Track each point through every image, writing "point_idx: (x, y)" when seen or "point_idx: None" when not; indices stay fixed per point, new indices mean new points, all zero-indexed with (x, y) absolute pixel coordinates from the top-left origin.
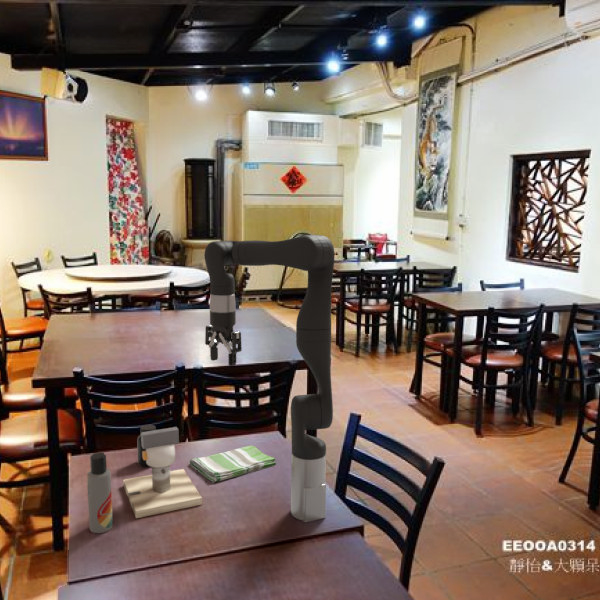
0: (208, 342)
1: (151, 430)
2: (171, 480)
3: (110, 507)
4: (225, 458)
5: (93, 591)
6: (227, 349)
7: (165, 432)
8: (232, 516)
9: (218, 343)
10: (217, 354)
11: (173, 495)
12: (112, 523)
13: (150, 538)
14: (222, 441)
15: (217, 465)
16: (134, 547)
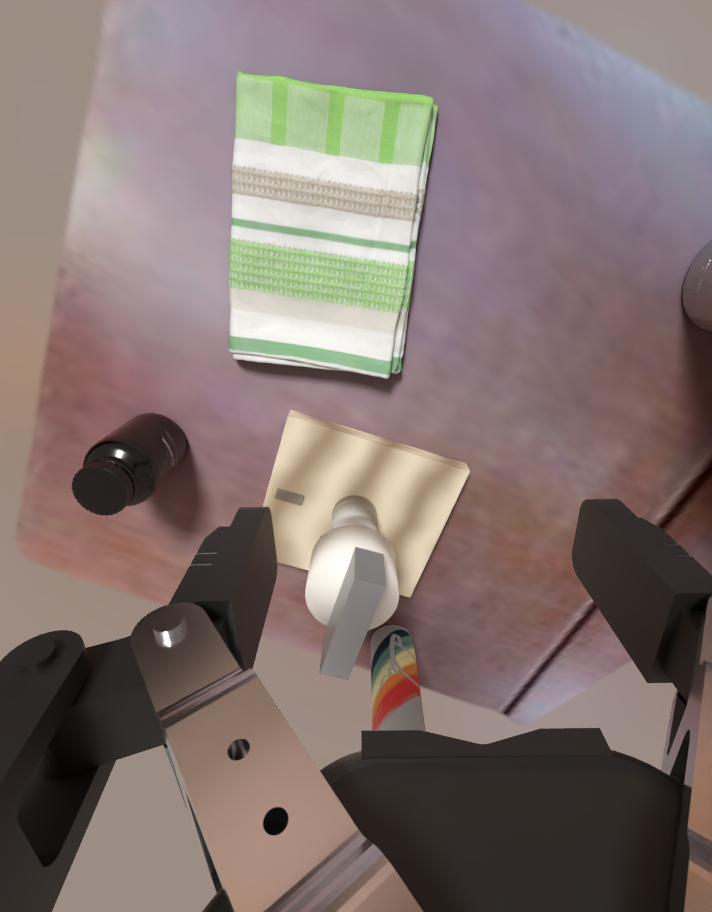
0: (106, 761)
1: (127, 491)
2: (332, 476)
3: (414, 667)
4: (288, 249)
5: (548, 706)
6: (665, 745)
7: (370, 622)
8: (568, 443)
9: (237, 668)
10: (257, 541)
11: (407, 512)
12: (403, 630)
13: (494, 599)
14: (116, 131)
15: (316, 306)
16: (497, 628)
